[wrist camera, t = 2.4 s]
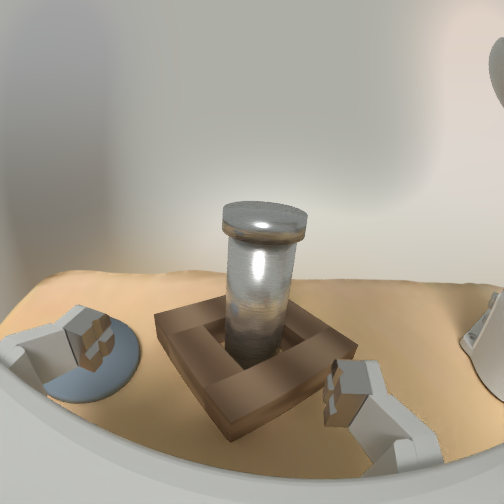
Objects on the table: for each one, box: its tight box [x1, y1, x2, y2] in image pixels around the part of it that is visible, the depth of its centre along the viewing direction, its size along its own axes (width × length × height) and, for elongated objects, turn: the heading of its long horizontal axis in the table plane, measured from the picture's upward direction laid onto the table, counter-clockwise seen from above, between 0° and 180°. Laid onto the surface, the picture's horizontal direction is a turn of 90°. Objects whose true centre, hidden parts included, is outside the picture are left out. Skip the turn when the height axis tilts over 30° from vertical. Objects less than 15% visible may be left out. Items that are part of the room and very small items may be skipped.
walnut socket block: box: [154, 295, 358, 442], centre depth 24 cm, size 14×14×3 cm
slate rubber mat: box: [43, 317, 140, 404], centre depth 21 cm, size 12×12×1 cm
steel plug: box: [222, 201, 308, 370], centre depth 22 cm, size 6×6×14 cm
